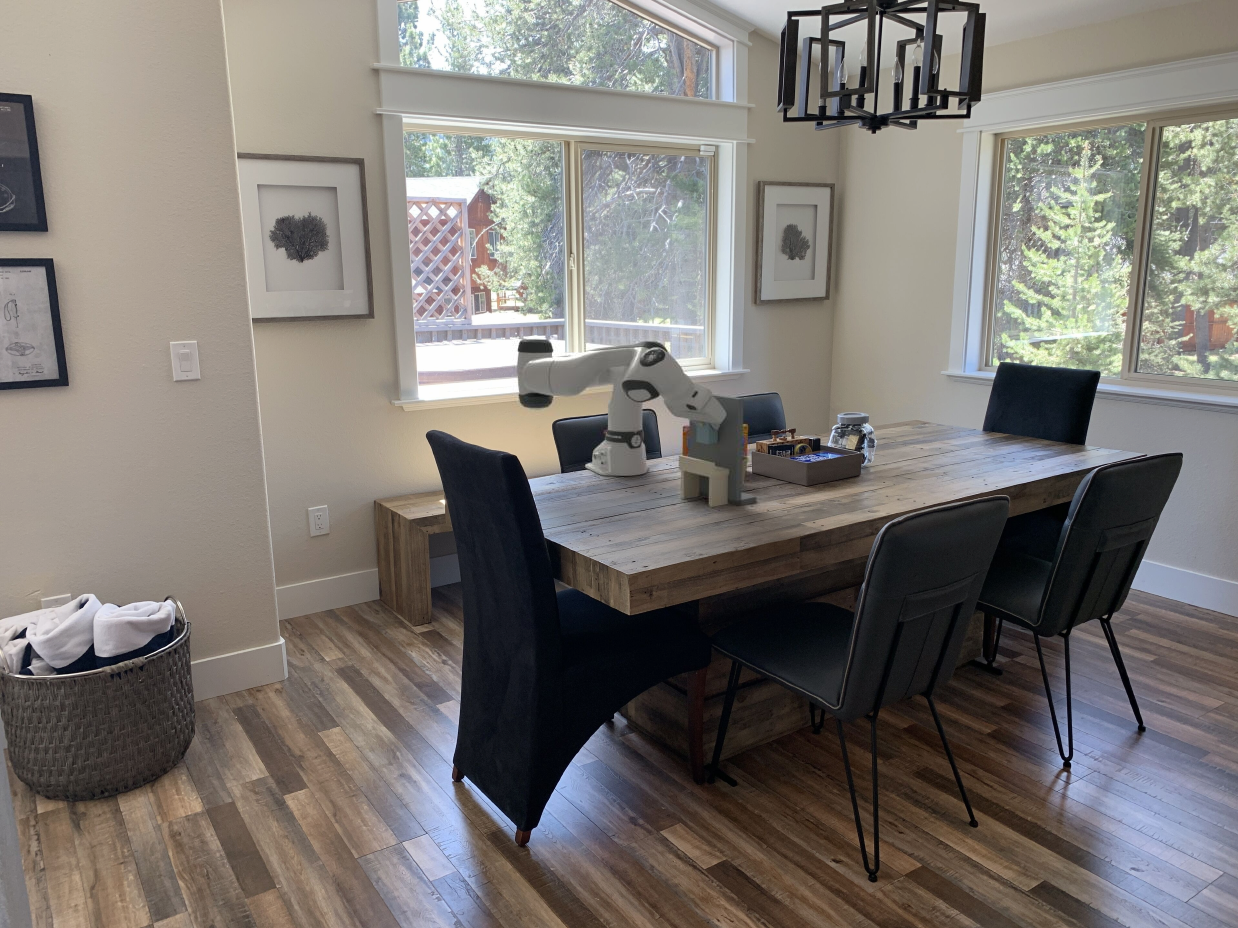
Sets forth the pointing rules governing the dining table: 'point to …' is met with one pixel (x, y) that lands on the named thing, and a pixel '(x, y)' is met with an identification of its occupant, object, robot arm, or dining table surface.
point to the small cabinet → (706, 433)
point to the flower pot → (744, 467)
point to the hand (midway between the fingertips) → (709, 426)
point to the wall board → (717, 460)
